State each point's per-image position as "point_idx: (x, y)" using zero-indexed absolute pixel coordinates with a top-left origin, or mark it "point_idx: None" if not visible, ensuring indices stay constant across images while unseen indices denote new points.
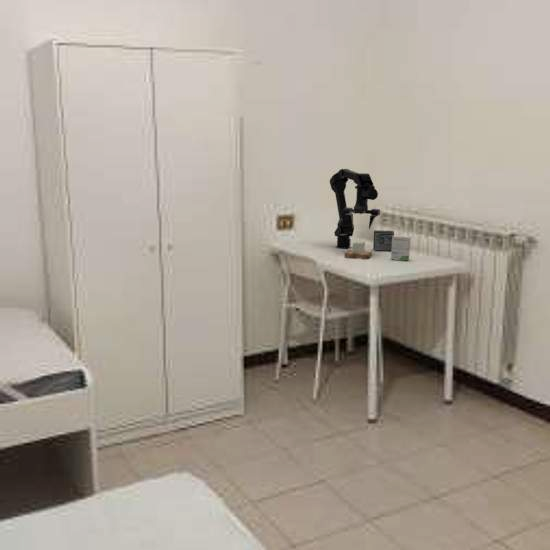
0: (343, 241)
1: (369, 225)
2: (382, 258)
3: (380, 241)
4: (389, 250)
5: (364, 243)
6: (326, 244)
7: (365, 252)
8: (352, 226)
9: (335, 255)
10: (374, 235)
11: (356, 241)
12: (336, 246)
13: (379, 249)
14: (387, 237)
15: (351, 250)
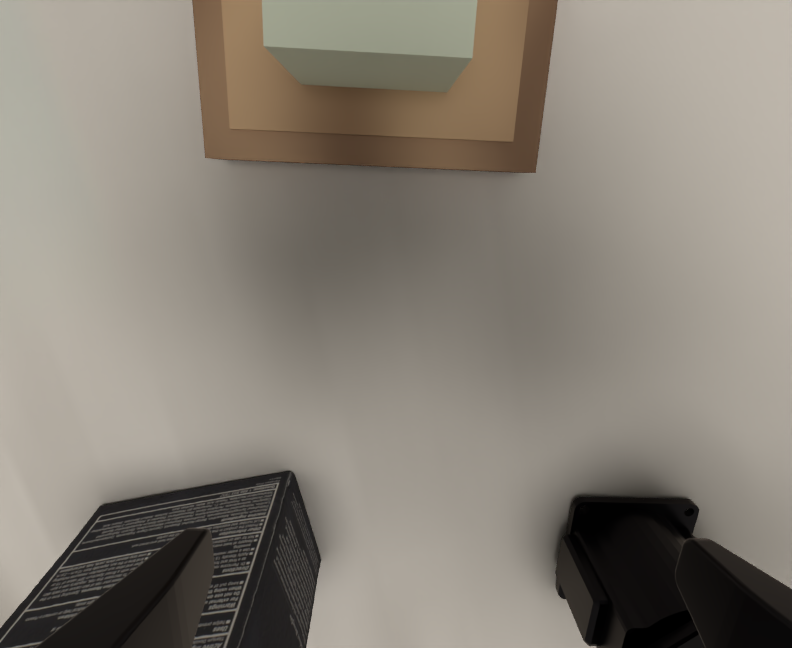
0: (656, 559)
1: (146, 588)
2: (50, 29)
3: None
4: (130, 505)
5: (268, 16)
6: None
7: None
8: (699, 569)
9: (689, 12)
10: (243, 627)
11: (444, 45)
12: (695, 520)
13: (228, 491)
14: None
15: (500, 114)
